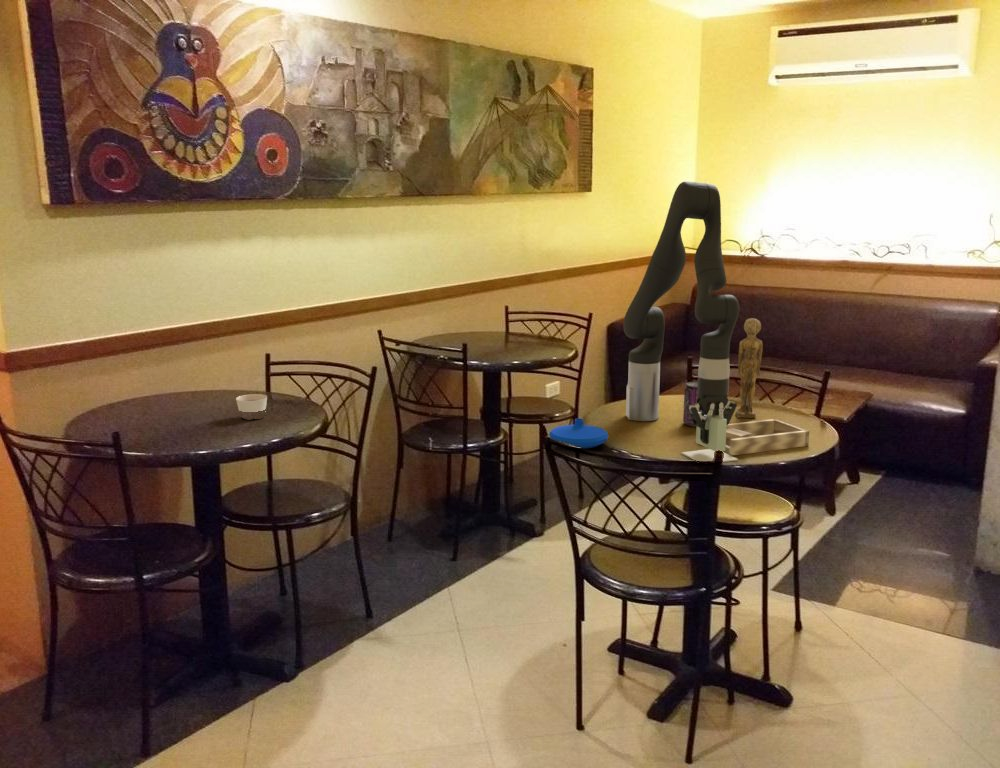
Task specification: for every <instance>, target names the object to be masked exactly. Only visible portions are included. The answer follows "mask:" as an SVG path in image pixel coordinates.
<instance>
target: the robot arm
mask: <svg viewBox="0 0 1000 768" xmlns="http://www.w3.org/2000/svg"><path fill="white" fill-rule="evenodd" d="M721 203H722V202H721V196H720V191H719V189H718V186H716V185H715V184H713V183H712V184H711V183H708V182H707V183H706V182H698V181H697V182H696V181H682V182H681V183H679V184H678V186H676V189H675V191H674V193H673V195H672V199H671V202H670V206H669V209H668V212H667V214H666V219H665V222H664V226H663V228H662V231H661V233H660V236H659V239H658V242H657V244H656V246H655V247H654V248H655V249H654V250H653V252H652V255H651V258H650V260H649V262H648V265H647V268H646V270H645V273H644V275H643V278H642V280H641V283H640V285H639V286H638V287H639V288H638V289H637V291H636V294H635V295H634V297H633V299H632V300H631V302H630V304H629V306H628V307H627V309H626V313H625V315H624V319H623V324H622V325H623V332H624V334H625V336H626V337H628V338H629V339H633V340H643V342H641V344H640V345H638V346H637V347H635V348H633V349H631V350H630V351H629V352H628V378H627V379H628V380H627V384H626V393H625V394H626V399H625V400H626V401H625V417H626V418H627V419H628V421H636V422H652V421H656V420H658V419H659V411H660V410H659V407H660V406H659V405H660V384H661V383H660V380H661V358H662V354H663V350H664V337H665V328H666V327H665V326H666V324H665V321H666V319H665V314H664V312H663V310H662V309H661V308H660V307H658V306H654V305H655V303H656V302H657V301H658V300H659V299H661V298H662V297H663V296H664V295H665V294H666V293H668V292H669V291H671V289H673V287H674V286H675V285H676V284H677V283H678V281H679V280H680V278H681V275H682V273H683V270H684V268H685V265H686V264H687V263H686V262H687V253H686V249H685V246H684V242H683V239H682V233H681V232H682V227H683V225H684V222H685V220H687V219H692V220H702V221H703V224H704V228H705V229H704V234H703V236H702V239H701V240H700V242H699V244H698V246H697V248H696V251H695V252H694V253H695V254H694V258H693V259H694V261H693V263H694V269H695V277H696V282H697V284H696V285H697V286H696V287H697V288H696V298H695V299H696V300H695V304H694V316H695V318H696V320H697V321H698V322H699V323H700V324H703V325H704V324H705V325H711V324H716V325H717V324H719V326H718V328H717V329H715V330H714V331H711V332H706V333H704V334H702V335H701V337H700V351H699V353H700V354H699V362H698V369H697V370H698V371H697V372H698V373H697V382H698V390H697V391H698V399H697V401H696V403H695V404H694V405H692V406H691V405H688V406H687V409H688V412H689V414H690V417H691V419H692V422H693V424H694V425H695V426H697V427H699V428H700V440H701V441H702V443H704V444H708V442H709V430H708V429H709V425H710V421H711V418H712V415H717V416H718V417H722V418H724V419H727V425H728V424H730V423H731V422H730V421H731V420H732V418H733V415H734V413H735V412H736V408H737V406H738V404H737V402H736V403H735V402H734V401H730V400H729V398H728V395H729V389H730V369H731V368H730V366H731V365H730V347H731V339H732V335H733V332H734V329H735V327H736V323H737V320H738V317H739V315H740V304H739V303H740V302H739V301H738V298H737V297H736V296H734V294H733V295H732V294H710V293H713V292H716V291H719V290H722V289H723V288H724V287H725V286H726V284H727V276H726V270H725V264H724V259H723V252H722V251H723V250H722V208H721V207H722V205H721ZM699 408H700V410H701V412H700V416H699V413H698V412H699ZM705 415H707V416H705ZM697 427H696V428H697Z"/></svg>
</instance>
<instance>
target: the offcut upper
mask: <svg viewBox="0 0 1000 768" xmlns="http://www.w3.org/2000/svg"><path fill="white" fill-rule="evenodd" d="M743 437H752V433H748V432H745V431H741V430H737V429H734V428H730V429H726V440H727V441H730V439H735V438H743Z"/></svg>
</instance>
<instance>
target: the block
mask: <svg viewBox="0 0 1000 768" xmlns="http://www.w3.org/2000/svg"><path fill="white" fill-rule="evenodd" d="M698 413H699V416H700V412H698ZM705 416H707V415H705ZM726 426H727V419H724V418H722V417H718V416H717V415H712V418H711V421H710V425H709V429H708V430H709V442H708V444H704V443H702V441H701V440H700V428H699V427H695V428H696V430H695V443H697V444H698V445H700V446H703V447H706V448H707V449H711V450H713V451H718V450H720V451H722V452H723V451H725V445H726Z"/></svg>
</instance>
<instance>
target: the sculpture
mask: <svg viewBox="0 0 1000 768" xmlns="http://www.w3.org/2000/svg"><path fill="white" fill-rule="evenodd" d="M761 329H762V323H761V321H760V320H758V319H757V318H754V317H753V318H752V317H750V318H747V319H746V320H745V322H744V324H743V330H744V332H745V333H746V335H747V336H746V338H743V339H741V340H740V342H739V344H738V362H737V363H738V369H737V376H738V377H739V379H740V386H739V396H740V397H739V398H740V406H739V407H740V408H738V409H737V410H736V411H735V417H736V418H737V419H738V418H749V419H751V418H756V417H757V414H756V412H755V411H754V410H753V400H754V398H755V393H756V382H757V381H756V380H757V378H758V377H760V375H761V372H760V371H761V370H760V369H761V363H762V356H763V346H764V345H763V341H762V340H761V339H759V338H758V337H757V335H758V333H760V331H761Z"/></svg>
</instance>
